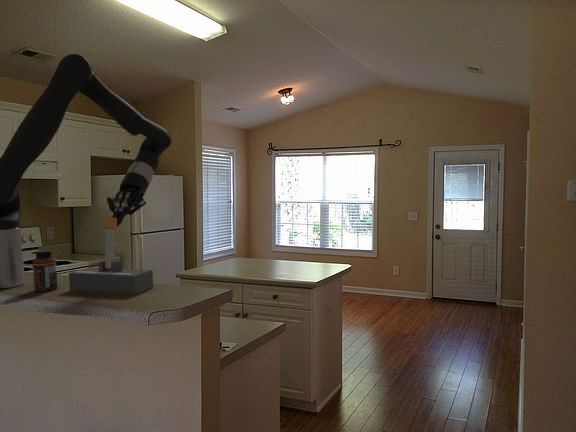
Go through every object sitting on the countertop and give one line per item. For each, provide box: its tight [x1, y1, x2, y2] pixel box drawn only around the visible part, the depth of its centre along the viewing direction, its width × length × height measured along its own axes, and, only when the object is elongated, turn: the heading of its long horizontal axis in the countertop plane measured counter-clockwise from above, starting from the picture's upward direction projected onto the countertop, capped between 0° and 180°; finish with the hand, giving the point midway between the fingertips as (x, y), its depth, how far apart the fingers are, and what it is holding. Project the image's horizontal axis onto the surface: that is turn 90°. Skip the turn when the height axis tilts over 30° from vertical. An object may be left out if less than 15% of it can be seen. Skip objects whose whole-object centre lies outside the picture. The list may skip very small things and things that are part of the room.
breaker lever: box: [103, 217, 118, 271], centre depth 136 cm, size 3×2×15 cm, turn 71°
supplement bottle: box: [32, 249, 58, 293], centre depth 138 cm, size 6×6×11 cm
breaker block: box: [68, 259, 154, 295], centre depth 137 cm, size 22×8×8 cm, turn 71°
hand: (114, 224), depth 138 cm, fingers closed
